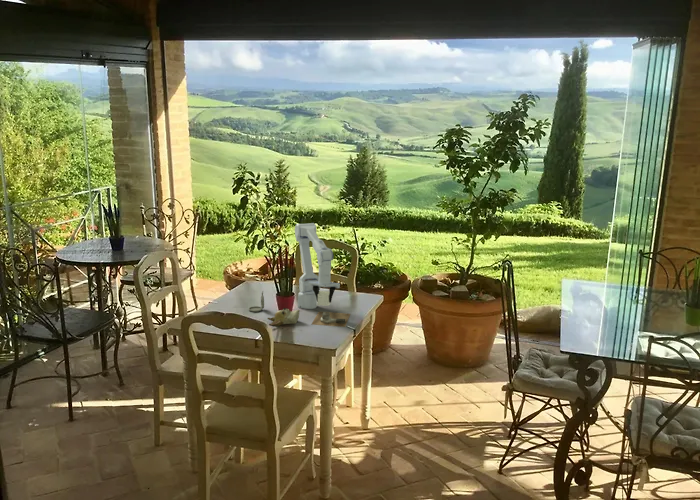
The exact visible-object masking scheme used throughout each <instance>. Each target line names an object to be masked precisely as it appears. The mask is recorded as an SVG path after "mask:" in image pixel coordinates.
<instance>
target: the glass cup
mask: <svg viewBox="0 0 700 500" xmlns="http://www.w3.org/2000/svg"><path fill="white" fill-rule="evenodd" d="M264 308H265V297H264V290H262V292H261V297H260V306H255V305H254V306H250V307H249V308H248V311H249V312H254V313H257V312H260V311H261V312H262V311H263V309H264Z"/></svg>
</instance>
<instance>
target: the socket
mask: <svg viewBox="0 0 700 500" xmlns="http://www.w3.org/2000/svg"><path fill="white" fill-rule="evenodd" d="M329 298H330V291H329V290H328V291H326V290H319V293H318V302H317V306H324V307H325V306H326V307H328V306H329V307H330V304H331V303H330V302H329Z"/></svg>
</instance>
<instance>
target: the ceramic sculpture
mask: <svg viewBox="0 0 700 500" xmlns="http://www.w3.org/2000/svg"><path fill="white" fill-rule="evenodd" d="M299 317H300V309H296V310H292V311H291V310H290V309H289V308H286V307H282V309H281V310H277V311H276V312H275V313H274V316H273V317H267V320H269V321H271V323H269V324H268V326H269V327H278V326H282V325H288V324H294V325H295V324H297V322H298V321H299Z"/></svg>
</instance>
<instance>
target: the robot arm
mask: <svg viewBox="0 0 700 500" xmlns="http://www.w3.org/2000/svg"><path fill="white" fill-rule="evenodd" d="M317 231H318V230H317V225H316V224H315V223H314V222H311V223H309V222H308V223H296V224H295V226H294V235H295V240H296V242H298V243H299V250H300V251H299V252H300V258H301V265H302V271H303V272H302V273H303V274H302V275H301V276H300V277H299V279H298V282H299V283H298V287H299V292H298V293H297V294H298V295H297V308H299V309H307V310H312V309H316V308H317V306H318V293H319V291H321V288H329V289H328V291H330V298H329V302H330V304H331V303H332V300H333V296H334V293H335V290H336V289H340V288H341V287H340V286H341V284H340V283H338V282H332V281H331V278H332V277H331V272H332V261H333V260H334V252H333V249H332V248H329V247H327V245H326V243H325V242H324V240H323V239H320V238H319V236H318V233H317ZM310 242H311V243H312V248H313V250H314V252H315V253H316V259H317V265H318V275H317V274H316V273H314V268H313V262H312V255H311V250H310V249H311V248H310V247H311V246H310Z"/></svg>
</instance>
